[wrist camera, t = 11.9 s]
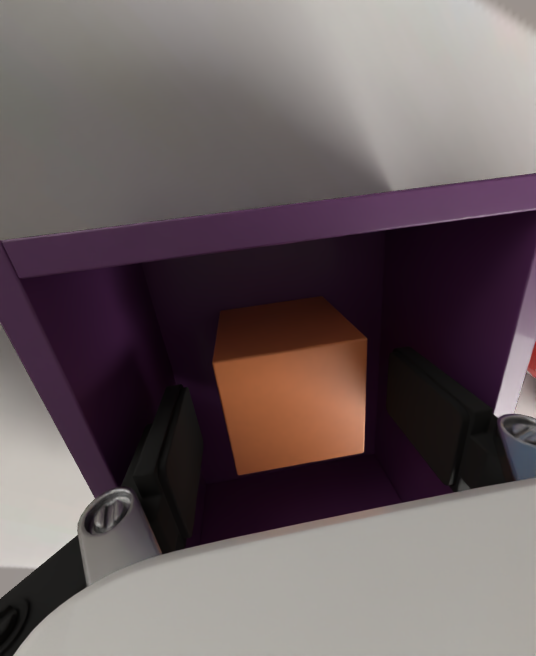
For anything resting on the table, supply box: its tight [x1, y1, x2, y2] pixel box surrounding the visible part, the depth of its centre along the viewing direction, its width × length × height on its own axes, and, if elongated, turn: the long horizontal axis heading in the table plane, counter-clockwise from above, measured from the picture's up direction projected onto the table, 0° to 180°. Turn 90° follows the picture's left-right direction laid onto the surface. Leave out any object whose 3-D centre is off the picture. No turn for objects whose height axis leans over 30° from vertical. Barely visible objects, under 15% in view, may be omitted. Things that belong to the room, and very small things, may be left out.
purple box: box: [0, 173, 536, 549], centre depth 13 cm, size 18×14×8 cm
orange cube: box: [212, 296, 367, 475], centre depth 13 cm, size 6×6×6 cm
